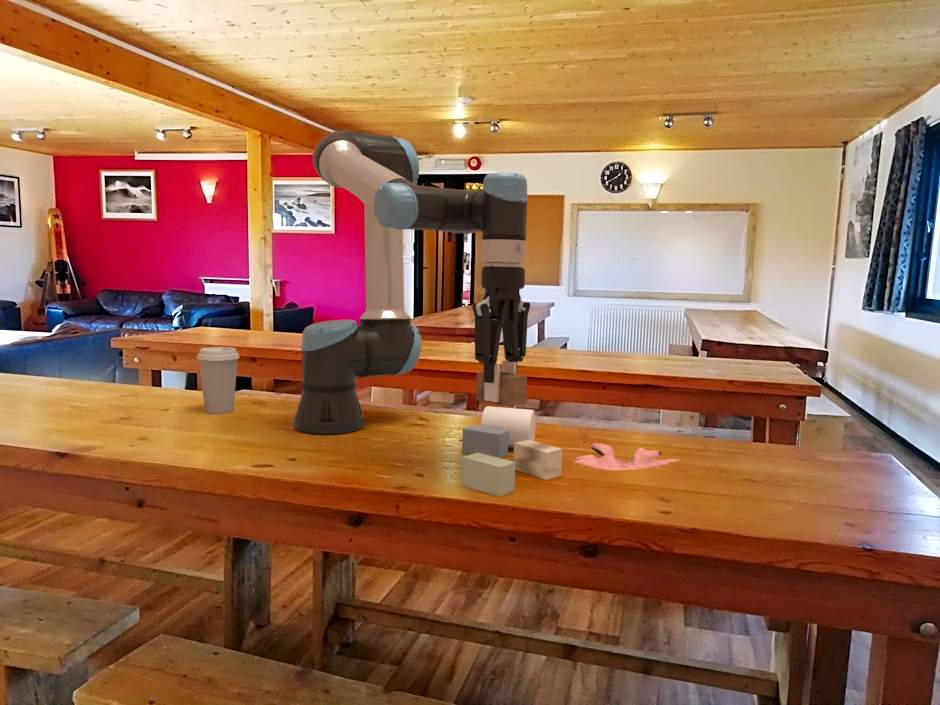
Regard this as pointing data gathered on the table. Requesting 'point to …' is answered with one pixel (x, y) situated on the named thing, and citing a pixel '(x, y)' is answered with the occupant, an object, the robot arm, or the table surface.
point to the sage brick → (488, 474)
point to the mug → (511, 422)
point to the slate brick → (485, 441)
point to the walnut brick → (505, 389)
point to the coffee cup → (218, 378)
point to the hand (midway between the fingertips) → (499, 398)
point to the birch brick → (538, 459)
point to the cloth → (609, 461)
